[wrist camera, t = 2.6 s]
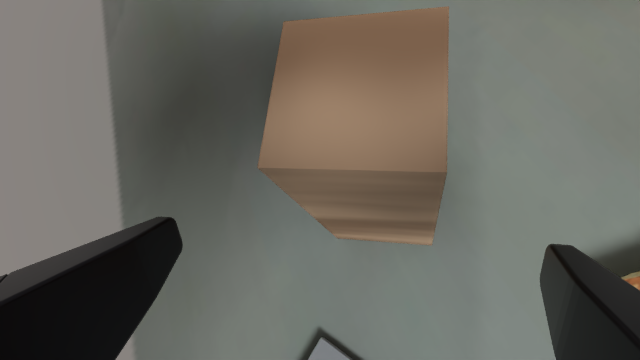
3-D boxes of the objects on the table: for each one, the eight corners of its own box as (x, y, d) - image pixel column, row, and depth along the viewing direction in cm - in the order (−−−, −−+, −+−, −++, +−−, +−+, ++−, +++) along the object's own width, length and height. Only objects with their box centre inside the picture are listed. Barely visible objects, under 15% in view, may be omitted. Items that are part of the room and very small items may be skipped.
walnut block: (431, 245, 19) (446, 172, 9) (337, 238, 20) (257, 167, 10) (433, 155, 20) (448, 6, 10) (345, 154, 22) (283, 21, 12)
